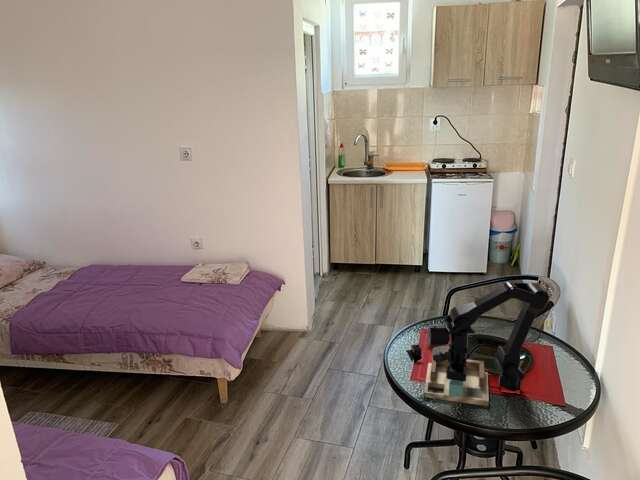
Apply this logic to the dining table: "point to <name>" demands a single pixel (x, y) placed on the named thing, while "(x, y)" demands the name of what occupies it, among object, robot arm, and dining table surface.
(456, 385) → the block
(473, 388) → the board
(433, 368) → the cubby
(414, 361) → the black box
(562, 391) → the dining table surface
